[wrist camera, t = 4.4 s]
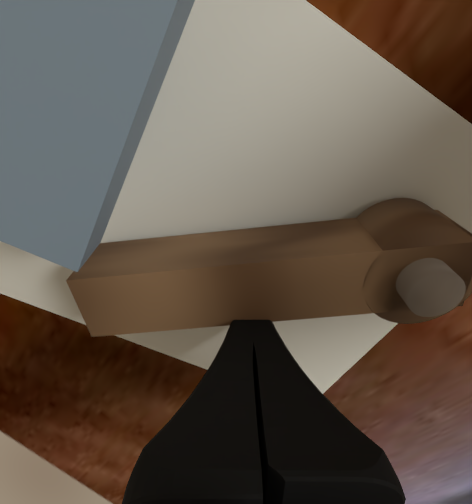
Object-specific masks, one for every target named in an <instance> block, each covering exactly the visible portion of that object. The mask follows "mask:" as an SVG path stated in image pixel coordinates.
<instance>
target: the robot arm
mask: <svg viewBox="0 0 472 504" xmlns="http://www.w3.org/2000/svg"><path fill="white" fill-rule="evenodd" d="M405 500H406V498H405V495H404V492H403V489H402V487H401V484H400V482H399V479H398V477H397V475H396V473H395V471H394V469H393V467H392V465H391V463H390V462H389V460H388V458H387V456H386V454H385V453H384V451H383V449H381V448H380V447H379V446H378V445H377V444H375V443H374V442H373V441H372V440H371V439H369V438H368V437H367V436H366V435H365V434H363V433H362V432H361V431H360V430H359V429H358V428H356V427H355V426H354V425H353V424H352V423H351V422H350V421H349V420H348V419H347V418H346V417H345V416H344V415H343V414H341V413H340V412H339V410H338V409H337V408H336V407H335V406H334V405H333V404H332V403H331V402H330V401H329V400H328V399H327V398H326V397H325V396H324V395H323V394H322V393H321V392H320V391H319V389H318V388H317V387H316V386H315V385H314V384H313V382H312V381H311V380H310V379H309V378H308V376H307V375H306V374H305V373H304V371H303V370H302V369H301V367H300V366H299V365H298V363H297V362H296V360H295V359H294V357H293V356H292V355H291V353H290V352H289V350H288V348H287V347H286V345H285V344H284V342H283V340H282V339H281V337H280V335H279V333H278V332H277V330H276V328H275V326H274V324H273V322H272V321H271V320H233V321H232V322H231V324H230V327H229V329H228V331H227V334H226V336H225V339H224V341H223V343H222V345H221V347H220V349H219V351H218V353H217V355H216V357H215V358H214V360H213V362H212V364H211V365H210V367H209V369H208V370H207V372H206V373H205V375H204V377H203V378H202V380H201V381H200V383H199V384H198V385H197V387H196V388H195V390H194V391H193V392H192V394H191V395H190V396H189V398H188V399H187V400H186V402H185V403H184V404H183V405H182V406H181V408H180V409H179V410H178V411H177V412H176V414H175V415H174V416H173V417H172V418H171V420H170V421H169V422H168V423H167V424H166V425H165V426H164V427H163V428H162V429H161V430H160V431H159V432H158V433H157V435H156V436H155V437H154V438H153V439H152V440H151V441H150V442H149V443H148V444H147V445H146V446H145V447H144V448H143V450H142V452H141V454H140V456H139V458H138V460H137V462H136V464H135V467H134V469H133V471H132V474H131V476H130V479H129V481H128V484H127V487H126V490H125V494H124V498H123V502H122V504H405Z"/></svg>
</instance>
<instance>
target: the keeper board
mask: <svg viewBox="0 0 472 504" xmlns="http://www.w3.org/2000/svg"><path fill="white" fill-rule="evenodd" d="M393 198H411V199H416V200H418V201H421V202H423V203H425V204H426V205H428V206H429V207H431V208H432V209H434V210H439V211H440V212H442V213H443V214H444V215H446V216H447V217H449V218H450V219H452V220H453V221H454V222H456V223H457V224H459V225H460V226H462V227H463V228H464V229H466V230H467V231H469V232H470V233H472V124H471V123H470V122H468V121H467V120H466V119H464V118H463V117H462V116H460V115H459V114H457V113H456V112H455V111H453V110H452V109H451V108H449V107H448V106H447V105H445V104H444V103H443V102H441V101H440V100H439V99H437V98H436V97H435V96H433V95H432V94H431V93H429V92H428V91H427V90H425V89H424V88H423V87H421V86H420V85H419V84H417V83H416V82H415V81H413V80H412V79H411V78H409V77H408V76H406V75H405V74H404V73H402V72H401V71H400V70H398V69H397V68H396V67H394V66H393V65H392V64H390V63H389V62H388V61H386V60H385V59H384V58H382V57H381V56H380V55H378V54H377V53H376V52H374V51H373V50H372V49H370V48H369V47H368V46H366V45H365V44H364V43H362V42H361V41H360V40H358V39H357V38H356V37H354V36H353V35H351V34H350V33H349V32H347V31H346V30H345V29H343V28H342V27H341V26H339V25H338V24H337V23H335V22H334V21H333V20H331V19H330V18H329V17H327V16H326V15H325V14H323V13H322V12H321V11H319V10H318V9H317V8H315V7H314V6H313V5H311V4H310V3H309V2H307V1H306V0H0V293H1V294H3V295H6V296H9V297H12V298H14V299H17V300H20V301H22V302H25V303H28V304H31V305H33V306H36V307H39V308H41V309H44V310H47V311H50V312H52V313H55V314H58V315H60V316H63V317H66V318H69V319H71V320H74V321H77V322H79V323H82V324H85V325H86V323H85V321H84V319H83V317H82V315H81V313H80V310H79V308H78V306H77V304H76V302H75V299H74V297H73V295H72V293H71V291H70V288H69V286H68V284H67V282H66V280H67V279H68V277H69V276H70V275H71V274H72V272H73V271H75V272H78V271H79V270H80V268H81V267H82V266H83V265H84V263H85V262H86V261H87V259H88V258H89V257H90V256H91V254H92V253H93V252H94V250H95V249H96V248H97V247H98V245H99V244H100V243H108V242H118V241H128V240H138V239H148V238H158V237H168V236H178V235H188V234H198V233H208V232H218V231H228V230H238V229H248V228H258V227H268V226H278V225H288V224H298V223H308V222H318V221H328V220H338V219H348V218H356V217H357V216H358V215H360V214H361V213H362V212H363V211H364V210H366V209H367V208H369V207H371V206H373V205H374V204H376V203H379V202H381V201H385V200H388V199H393ZM273 324H274V326H275V328H276V330H277V332H278V333H279V335H280V337H281V339H282V340H283V342H284V344H285V345H286V347H287V348H288V350H289V352H290V353H291V355H292V356H293V357H294V359H295V360H296V362H297V363H298V365H299V366H300V367H301V369H302V370H303V371H304V373H305V374H306V375H307V376H308V378H309V379H310V380H311V381H312V382H313V384H314V385H315V386H316V387H317V388H318V389H319V391H320V392H321V393H322V394H323V393H324V392H325V391H326V390H327V389H328V388H329V387H330V386H332V385H333V384H334V383H335V382H336V381H337V380H338V379H339V378H340V377H341V376H342V375H343V374H344V373H345V372H346V371H348V370H349V369H350V368H351V367H352V366H353V365H354V364H355V363H356V362H357V361H358V360H359V359H360V358H361V357H363V356H364V355H365V354H366V353H367V352H368V351H369V350H370V349H371V348H372V347H373V346H374V345H375V344H376V343H377V342H379V341H380V340H381V339H382V338H383V337H384V336H385V335H386V334H387V333H388V332H389V331H390V330H391V329H392V328H394V327H395V326H396V325H397V324H398V323H395V322H390V321H387V320H385V319H382V318H380V317H379V316H377V315H376V314H375V313H371V314H359V315H347V316H335V317H324V318H312V319H300V320H288V321H276V322H273ZM229 327H230V325H228V326H216V327H204V328H193V329H181V330H169V331H157V332H145V333H133V334H121V335H115V336H117V337H120V338H123V339H125V340H128V341H131V342H134V343H136V344H139V345H142V346H144V347H147V348H150V349H153V350H155V351H158V352H161V353H163V354H166V355H169V356H171V357H174V358H177V359H180V360H182V361H185V362H188V363H190V364H193V365H196V366H199V367H201V368H204V369H207V370H208V369H209V367H210V365H211V364H212V362H213V360H214V358H215V357H216V355H217V353H218V351H219V349H220V347H221V345H222V343H223V341H224V339H225V336H226V334H227V331H228V329H229Z"/></svg>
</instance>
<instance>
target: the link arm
mask: <svg viewBox="0 0 472 504" xmlns="http://www.w3.org/2000/svg"><path fill="white" fill-rule="evenodd" d="M66 282H67V284H68V286H69V288H70V291H71V293H72V295H73V297H74V299H75V302H76V304H77V306H78V308H79V310H80V313H81V315H82V317H83V319H84V321H85V323H86V326H87V328H88V330H89V332H90V334H91V337H97V336H109V335H121V334H133V333H145V332H157V331H169V330H181V329H193V328H204V327H216V326H228V325H230V324H231V322H232V321H233V320H271V321H272V322H276V321H288V320H300V319H312V318H324V317H335V316H347V315H359V314H371V313H375V314H376V315H377V316H379V317H380V318H382V319H385V320H387V321H390V322H395V323H403V324H411V323H420V322H424V321H428V320H432V319H435V318H437V317H440V316H442V315H444V314H446V313H448V312H450V311H451V310H453V309H454V308H456V307H457V306H463V303H464V301H465V300H466V299H467V298H468V297H469V295H470V294H471V293H472V233H470V232H469V231H467V230H466V229H464V228H463V227H462V226H460V225H459V224H457V223H456V222H454V221H453V220H452V219H450V218H449V217H447V216H446V215H444V214H443V213H442V212H440V211H439V210H434V209H432V208H431V207H429V206H428V205H426V204H425V203H423V202H421V201H418V200H416V199H411V198H393V199H388V200H385V201H381V202H379V203H376V204H374V205H373V206H371V207H369V208H367V209H366V210H364V211H363V212H362V213H361V214H360V215H358V216H357V217H356V218H348V219H338V220H328V221H318V222H308V223H298V224H288V225H278V226H268V227H258V228H248V229H238V230H228V231H218V232H208V233H198V234H188V235H178V236H168V237H158V238H148V239H138V240H128V241H118V242H108V243H100V244H99V245H98V247H97V248H96V249H95V250H94V252H93V253H92V254H91V256H90V257H89V258H88V259H87V261H86V262H85V263H84V265H83V266H82V267H81V268H80V270H79V271H78V272H75V271H73V272H72V274H71V275H70V276H69V277H68V279H67V280H66Z"/></svg>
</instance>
